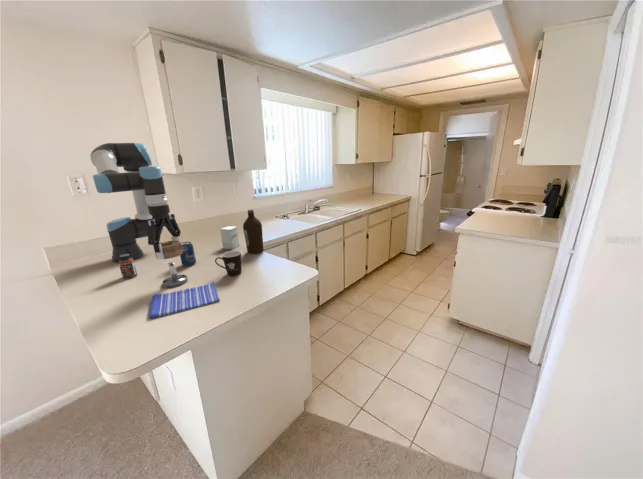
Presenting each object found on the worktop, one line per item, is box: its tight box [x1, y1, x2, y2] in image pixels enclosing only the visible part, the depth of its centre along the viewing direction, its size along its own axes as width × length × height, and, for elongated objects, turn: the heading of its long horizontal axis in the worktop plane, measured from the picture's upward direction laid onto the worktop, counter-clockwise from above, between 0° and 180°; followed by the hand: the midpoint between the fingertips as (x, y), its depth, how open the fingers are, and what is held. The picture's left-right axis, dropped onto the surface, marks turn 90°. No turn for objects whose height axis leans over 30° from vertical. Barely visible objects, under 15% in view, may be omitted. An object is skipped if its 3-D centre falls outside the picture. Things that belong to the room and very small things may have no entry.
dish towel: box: [149, 281, 220, 319], centre depth 104 cm, size 17×24×3 cm
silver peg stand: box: [162, 261, 189, 289], centre depth 119 cm, size 10×10×10 cm
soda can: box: [179, 241, 197, 267], centre depth 140 cm, size 7×7×12 cm
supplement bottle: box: [117, 254, 138, 280], centre depth 128 cm, size 6×6×11 cm
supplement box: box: [219, 226, 240, 250], centre depth 166 cm, size 7×7×13 cm
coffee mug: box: [214, 250, 242, 277], centre depth 127 cm, size 12×9×10 cm
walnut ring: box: [152, 240, 183, 260], centre depth 116 cm, size 10×10×5 cm
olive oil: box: [242, 209, 264, 255], centre depth 153 cm, size 11×11×25 cm
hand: (169, 254), depth 117 cm, fingers closed on walnut ring, 10 cm apart
